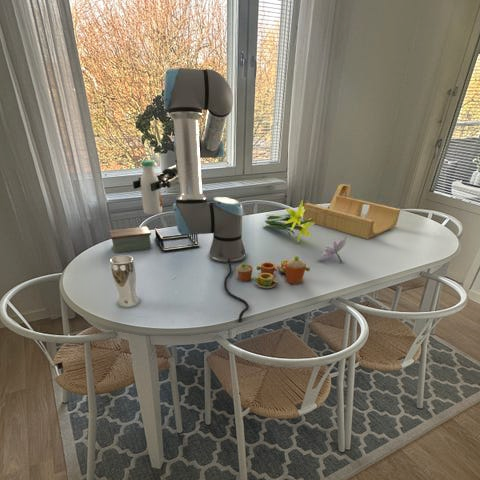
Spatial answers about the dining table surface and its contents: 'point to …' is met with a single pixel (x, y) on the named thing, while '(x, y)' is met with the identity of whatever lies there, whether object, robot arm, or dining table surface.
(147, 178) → the milk bottle
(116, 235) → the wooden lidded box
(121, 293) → the beer glass
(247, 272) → the toy tea set
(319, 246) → the dining table surface
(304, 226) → the daffodil flowers
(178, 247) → the dish rack
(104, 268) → the dining table surface
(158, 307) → the dining table surface
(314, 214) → the skate ramp
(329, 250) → the water lily
